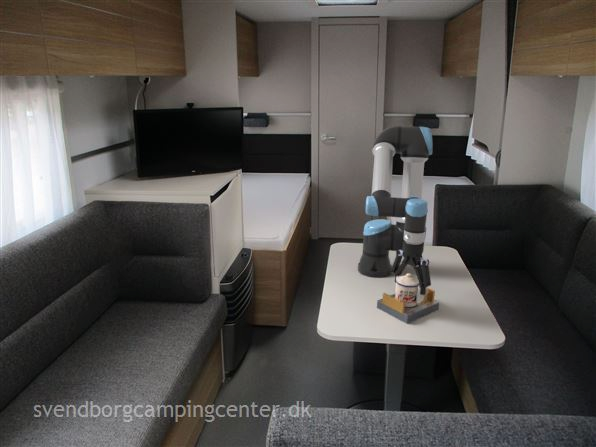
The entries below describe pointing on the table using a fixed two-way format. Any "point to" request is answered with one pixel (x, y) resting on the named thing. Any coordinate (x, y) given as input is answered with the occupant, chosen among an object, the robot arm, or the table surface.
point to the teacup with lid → (408, 290)
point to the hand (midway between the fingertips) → (408, 296)
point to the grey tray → (408, 313)
